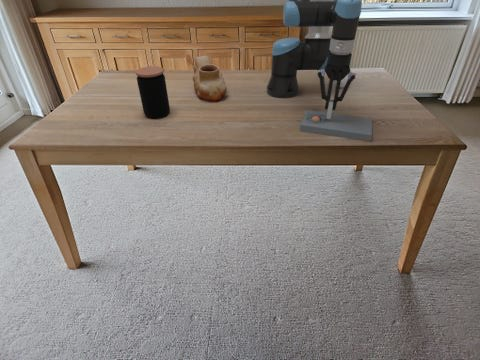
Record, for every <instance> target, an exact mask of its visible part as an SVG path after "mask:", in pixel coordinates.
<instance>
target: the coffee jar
mask: <svg viewBox="0 0 480 360" xmlns="http://www.w3.org/2000/svg"><path fill="white" fill-rule="evenodd" d="M164 71H165V70H164V68H163V67H161V66H154V65H153V66H152V65H151V66H144V67H139V68H137V69H136V70H135V73H134V74H135V75H136V81H137V87H138V91H139V96H140V100H141V105H142V109H143V110H142V111H143V114H144V115H145V117H147V118H149V119H151V120H152V119H153V120H157V119H163V118H165V117H167V116H168V115H169V114H170V111H171V108H170V101H169V95H168V90H167V82H166V76H165V74H164Z"/></svg>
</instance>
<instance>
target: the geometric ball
mask: <svg viewBox="0 0 480 360" xmlns="http://www.w3.org/2000/svg"><path fill="white" fill-rule="evenodd" d="M347 80H348V75H347V76H346V77H345V78H344V79H343V80H341V84H340V89H344V87H345V85H346V82H347ZM336 84H337V81H336V80H334V81H333V85H334V86H336Z"/></svg>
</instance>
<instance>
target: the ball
mask: <svg viewBox="0 0 480 360" xmlns="http://www.w3.org/2000/svg"><path fill="white" fill-rule="evenodd" d="M312 120H313V121H320V118H319V117H317V116H314V117H312Z"/></svg>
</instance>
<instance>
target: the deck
mask: <svg viewBox="0 0 480 360" xmlns="http://www.w3.org/2000/svg"><path fill="white" fill-rule="evenodd" d="M314 116H317V117H319V118H320V121H313V120H312V117H314ZM326 117H327V111H326V112H325V111H320V110H311V109H306V111H305V113H304V115H303V118H302V121H301V123H300V126H299V132H304V133H312V134H319V135H324V136H331V137H338V138H346V139H351V140H356V141H357V140H359V141H363V140H367V141H366V142H371V140H372V134H373V132H372V131H373V130H372V129H373V118H372V117H371V118H370V117H365V116H357V115H350V114H341V113H335V112H334V113H333V112H332V114H331V118H330V119H326Z"/></svg>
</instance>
